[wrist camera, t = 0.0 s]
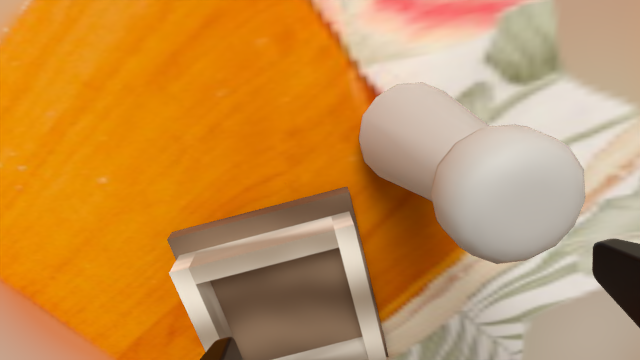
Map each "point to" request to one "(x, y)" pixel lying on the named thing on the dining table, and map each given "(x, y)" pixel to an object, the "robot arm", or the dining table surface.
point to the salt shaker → (475, 172)
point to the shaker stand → (282, 282)
